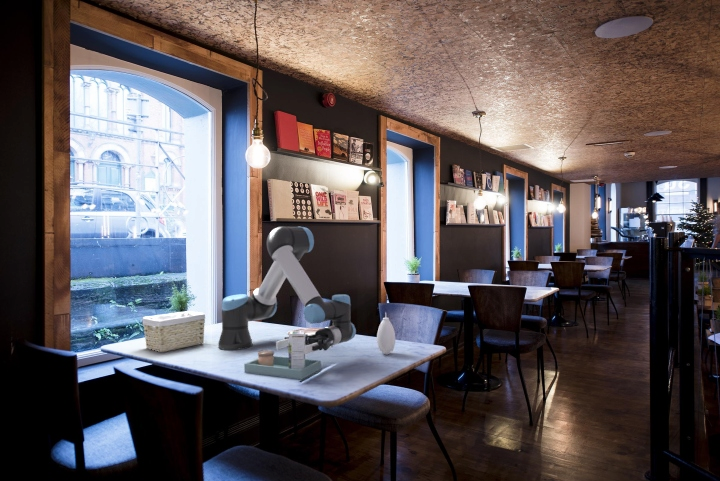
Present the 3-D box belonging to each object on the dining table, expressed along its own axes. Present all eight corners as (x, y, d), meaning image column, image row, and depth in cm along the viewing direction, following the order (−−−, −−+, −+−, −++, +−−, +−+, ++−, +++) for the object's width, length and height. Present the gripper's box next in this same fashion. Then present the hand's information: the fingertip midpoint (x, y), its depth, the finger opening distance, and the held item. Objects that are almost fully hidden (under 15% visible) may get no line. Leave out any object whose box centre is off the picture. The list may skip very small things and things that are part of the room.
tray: (244, 374, 172) (244, 363, 172) (267, 365, 185) (266, 355, 185) (301, 382, 162) (301, 370, 162) (320, 371, 175) (320, 360, 175)
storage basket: (158, 354, 206) (157, 320, 205) (141, 348, 216) (140, 316, 216) (207, 344, 224) (206, 313, 224) (189, 339, 234) (189, 310, 234)
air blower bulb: (375, 352, 204) (374, 310, 204) (392, 351, 205) (391, 309, 205) (379, 356, 196) (379, 313, 196) (397, 355, 198) (397, 312, 198)
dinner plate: (311, 330, 254) (311, 324, 254) (352, 336, 239) (352, 329, 239) (275, 340, 232) (275, 333, 232) (318, 346, 216) (318, 339, 216)
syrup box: (289, 370, 174) (289, 330, 174) (305, 369, 174) (305, 330, 174) (288, 374, 168) (288, 333, 168) (305, 374, 168) (304, 333, 168)
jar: (254, 369, 175) (254, 353, 175) (264, 365, 180) (264, 350, 180) (268, 371, 173) (267, 354, 173) (277, 367, 178) (276, 351, 178)
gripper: (353, 350, 179) (318, 363, 161) (303, 343, 193) (265, 353, 175) (353, 330, 179) (317, 341, 161) (303, 324, 193) (265, 333, 175)
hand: (290, 347), depth 168 cm, fingers open, 13 cm apart
